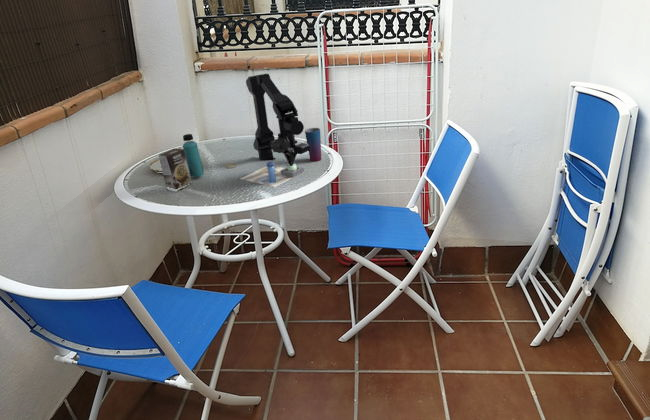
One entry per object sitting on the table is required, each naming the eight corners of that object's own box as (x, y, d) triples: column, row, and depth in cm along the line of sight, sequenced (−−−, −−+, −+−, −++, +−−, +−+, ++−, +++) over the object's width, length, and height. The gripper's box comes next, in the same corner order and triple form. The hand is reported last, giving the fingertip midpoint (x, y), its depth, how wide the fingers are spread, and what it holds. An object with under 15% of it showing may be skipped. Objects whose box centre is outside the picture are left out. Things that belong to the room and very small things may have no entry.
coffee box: (177, 192, 203) (167, 156, 197) (166, 190, 207) (157, 154, 200) (192, 184, 210) (184, 149, 203) (182, 182, 214) (174, 147, 207)
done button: (285, 173, 207) (285, 166, 205) (292, 170, 209) (291, 163, 208) (292, 174, 204) (291, 167, 203) (299, 171, 207) (298, 164, 206)
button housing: (281, 175, 207) (280, 170, 206) (292, 169, 212) (291, 165, 211) (293, 177, 203) (292, 173, 202) (304, 171, 207) (303, 167, 207)
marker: (267, 182, 201) (264, 163, 197) (272, 179, 203) (269, 161, 199) (273, 183, 199) (270, 164, 195) (278, 180, 201) (275, 162, 197)
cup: (321, 164, 217) (318, 131, 210) (307, 164, 218) (303, 132, 212) (324, 159, 223) (321, 127, 216) (310, 159, 224) (306, 128, 218)
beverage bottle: (207, 175, 219) (198, 132, 210) (199, 180, 213) (189, 137, 205) (195, 174, 221) (185, 132, 213) (187, 180, 215) (176, 137, 207)
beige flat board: (237, 181, 208) (236, 179, 208) (269, 166, 222) (269, 163, 221) (275, 190, 194) (275, 188, 194) (307, 173, 208) (307, 171, 207)
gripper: (256, 133, 199) (262, 168, 206) (290, 138, 188) (295, 175, 195) (275, 125, 207) (280, 160, 213) (308, 130, 196) (312, 166, 202)
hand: (291, 165), depth 206 cm, fingers closed, pressing on done button
